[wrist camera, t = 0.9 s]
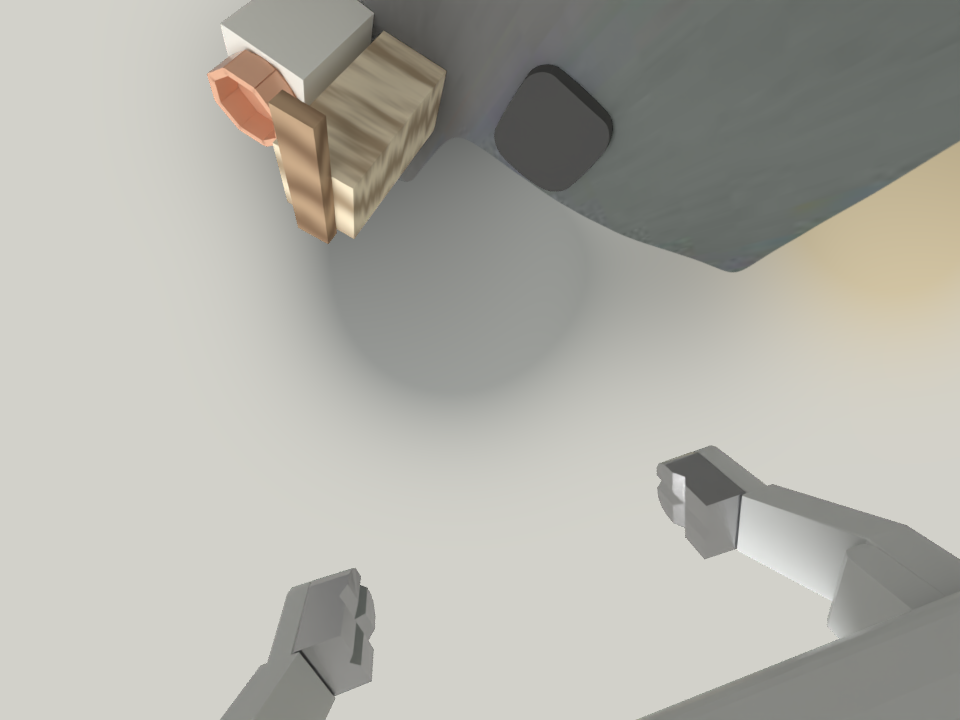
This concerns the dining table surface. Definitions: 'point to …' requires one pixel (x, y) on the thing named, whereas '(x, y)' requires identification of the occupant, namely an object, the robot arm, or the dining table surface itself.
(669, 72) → the dining table surface
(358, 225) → the stand
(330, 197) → the lid slat
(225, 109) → the bowl
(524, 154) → the media streaming box
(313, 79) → the block
